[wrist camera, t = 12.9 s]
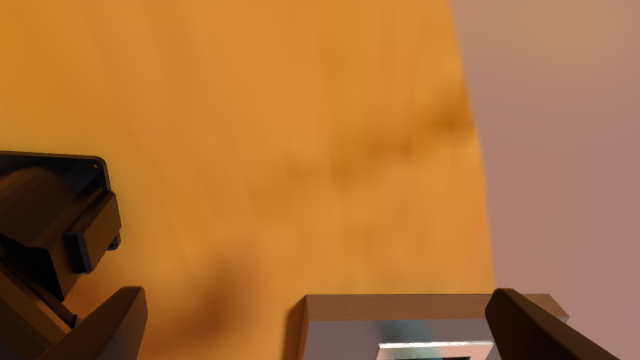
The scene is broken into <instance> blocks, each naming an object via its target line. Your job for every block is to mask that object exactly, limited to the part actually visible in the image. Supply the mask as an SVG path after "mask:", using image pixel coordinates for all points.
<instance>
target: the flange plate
mask: <svg viewBox="0 0 640 360" xmlns="http://www.w3.org/2000/svg"><path fill="white" fill-rule="evenodd" d="M522 295H523V296H525V297H526V298H528V299H529V300H531V301H532V302H534V303H535V304H537V305H538V306H540V307H541V308H543V309H544V310H546V311H547V312H549V313H550V314H552V315H553V316H555V317H556V318H558V319H559V320H561V321H562V322H564V323H566V322H567V320H568V319H569V318H570V316H569V315H568V314H567V313H566V312H565V311H564V310H563V309H562V308H561V307H560V306H559V304H558V303H557V302H556V301H555V300H554V299H553V298H552V297H551V296H550V295H549V294H522ZM491 296H492V294H399V295H306V300H305V307H304V314H303V321H302V327H301V334H300V341H299V348H298V354H297V360H394V359H415V358H441V357H443V360H501V357H500V355H499V352H498V349H497V347H496V344H495V341H494V339H493V336H492V334H491V331H490V328H489V326H488V323H487V320H486V318H485V307H486V305H487V303H488V302H489V300H490V298H491Z"/></svg>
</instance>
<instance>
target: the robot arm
mask: <svg viewBox="0 0 640 360" xmlns="http://www.w3.org/2000/svg"><path fill="white" fill-rule="evenodd" d="M92 163H95V164H97V165H98V167H99V168H95V167H94V166H93V165H92ZM120 228H121V221H120V216H119V210H118V205H117V199H116V194H115V193H114V192H113V191H111V186H110V181H109V175H108V170H107V165H106V162H105V161H104V160H103V159H102V158H100V157H97V156H85V155H67V154H50V153H33V152H16V151H0V360H136V359H137V355H138V352H139V348H140V344H141V340H142V337H143V333H144V329H145V325H146V321H147V315H148V310H147V303H146V297H145V291H144V288H143V287H141V286H124V287H122V288H120V289H119V290H118V291H117V292H116V293H114V294H113V295H112V296H111V297H110V298H109V299H107V300H106V301H105V302H104V303H103V304H101V305H100V306H99V307H98V308H97V309H95V310H94V311H93V312H92V313H91V314H90V315H88V316H87V317H86V318H85V319H84V320H82V319H81V318H80V317H79V316H78V315H73V314H72V313H71V312H70V311H69V310H68V309H67V308H66V307H65V306H64V305H63V304H62V303H61V302H63V301H64V300H65V298H66V297H67V295H68V294H69V293H70V291H71V290H72V288H73V287H74V285H75V284H76V282H77V281H78V279H79V278H80V276H81V275H82V274H89V273H91V272H92V271H93V270H94V269H95V267H96V266H97V264H98V262H99V261H100V259H101V258H102V256H103V255H104V253H105V252H106V250H115V249H117V248H118V246H119V245H120V243H121V239H120V233H119V230H120ZM111 242H113V243H111ZM485 318H486V320H487V323H488V326H489V328H490V331H491V334H492V336H493V339H494V341H495V344H496V347H497V349H498V352H499V355H500V357H501V360H620V359H618V358H617V357H615V356H614V355H612V354H611V353H609V352H608V351H606V350H604V349H603V348H602V347H600V346H599V345H597V344H596V343H594V342H593V341H591V340H590V339H588V338H587V337H585V336H584V335H582V334H581V333H579V332H577V331H576V330H574V329H573V328H571V327H570V326H568V325H567V324H565V323H564V322H562V321H561V320H559V319H558V318H556V317H555V316H553V315H552V314H550V313H549V312H547V311H546V310H544V309H543V308H541V307H540V306H538V305H537V304H535V303H534V302H532V301H531V300H529V299H528V298H526V297H525V296H523V295H522V294H520V293H518V292H517V291H515V290H514V289H511V288H497V289H495V290H494V292H493V294H492V296H491V298H490V300H489V302H488V303H487V305H486V307H485Z"/></svg>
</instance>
